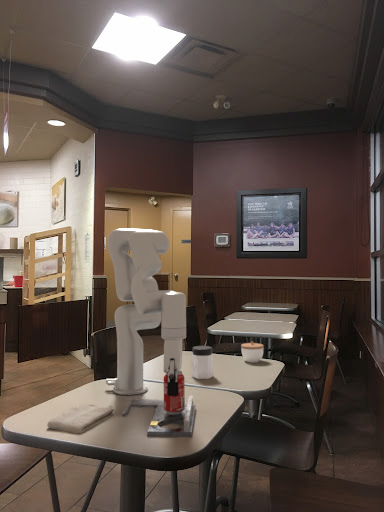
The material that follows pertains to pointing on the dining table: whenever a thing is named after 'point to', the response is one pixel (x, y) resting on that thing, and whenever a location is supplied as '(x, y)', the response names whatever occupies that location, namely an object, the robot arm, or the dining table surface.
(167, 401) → the beverage can
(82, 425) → the washcloth
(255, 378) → the dining table surface
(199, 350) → the jar
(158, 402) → the grey flat l-shaped piece
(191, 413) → the rack
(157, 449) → the dining table surface
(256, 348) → the lidded jar
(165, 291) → the robot arm
